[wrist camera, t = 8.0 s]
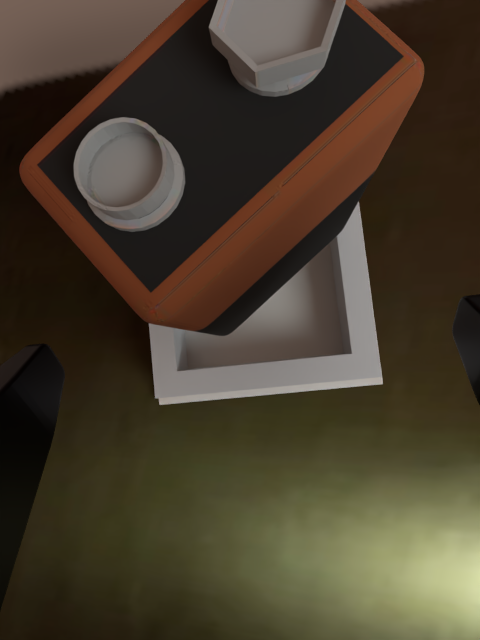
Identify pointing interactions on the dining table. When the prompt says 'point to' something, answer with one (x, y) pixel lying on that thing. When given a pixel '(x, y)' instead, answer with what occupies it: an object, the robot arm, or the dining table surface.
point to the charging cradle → (282, 336)
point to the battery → (225, 152)
